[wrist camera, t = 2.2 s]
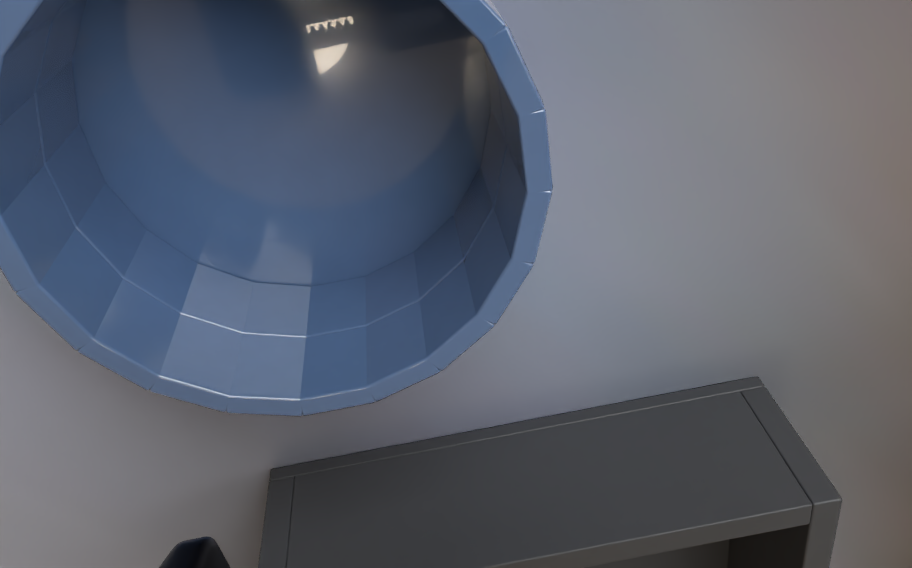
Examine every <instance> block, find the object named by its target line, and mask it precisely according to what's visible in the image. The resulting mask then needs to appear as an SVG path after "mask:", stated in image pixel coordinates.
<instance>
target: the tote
mask: <svg viewBox="0 0 912 568" xmlns="http://www.w3.org/2000/svg"><path fill="white" fill-rule="evenodd" d="M841 503H842V498H841V496H840V495H839V494H838V492H837V491H836V489H835V488H834V486H833V485H832V483H831V482H830V480H829V479H828V478H827V476H826V475H825V473H824V472H823V470H822V469H821V467H820V466H819V465H818V463H817V462H816V460H815V459H814V457H813V456H812V454H811V453H810V451H809V450H808V449H807V447H806V446H805V444H804V443H803V441H802V440H801V438H800V437H799V435H798V434H797V433H796V431H795V430H794V428H793V427H792V425H791V424H790V422H789V421H788V419H787V418H786V417H785V415H784V414H783V412H782V411H781V409H780V408H779V406H778V405H777V404H776V402H775V401H774V399H773V398H772V396H771V395H770V393H769V392H768V390H767V389H766V388H765V387H764V385H763V383H762V382H761V380H760V379H759V377H751V378H746V379H741V380H736V381H730V382H725V383H720V384H715V385H710V386H704V387H699V388H694V389H689V390H684V391H678V392H673V393H668V394H663V395H657V396H652V397H647V398H642V399H637V400H631V401H626V402H621V403H616V404H610V405H605V406H600V407H595V408H590V409H584V410H579V411H574V412H569V413H563V414H558V415H553V416H548V417H543V418H537V419H532V420H527V421H522V422H517V423H511V424H506V425H501V426H496V427H490V428H485V429H480V430H475V431H470V432H464V433H459V434H454V435H449V436H443V437H438V438H433V439H428V440H423V441H417V442H412V443H407V444H402V445H396V446H391V447H386V448H381V449H376V450H370V451H365V452H360V453H355V454H349V455H344V456H339V457H334V458H329V459H323V460H318V461H313V462H308V463H303V464H297V465H292V466H287V467H282V468H276V469H272V470H271V473H270V482H269V488H268V496H267V503H266V511H265V519H264V527H263V534H262V542H261V550H260V557H259V565H258V568H829V565H830V559H831V554H832V549H833V544H834V539H835V534H836V529H837V524H838V519H839V514H840V509H841Z"/></svg>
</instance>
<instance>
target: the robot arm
mask: <svg viewBox="0 0 912 568" xmlns="http://www.w3.org/2000/svg"><path fill="white" fill-rule="evenodd" d="M159 568H230V566H229V565H228V563H227V561H226V559H225V557H224V555H223V553H222V552H221V550H220V548H219V546H218V544H217V543H216V541H215V540H214V539H213V538H211V537H201V538H196V539H191V540H186V541H182V542H180V543H178V544H177V545H176V546H175V547H174V548H173V549H172V550H171V552H170V553H169V555H168V556H167V557H166V559H165V560H164V561H163V563H162V564H161V565H160V567H159Z"/></svg>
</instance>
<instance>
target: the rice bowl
mask: <svg viewBox="0 0 912 568" xmlns="http://www.w3.org/2000/svg"><path fill="white" fill-rule="evenodd" d="M552 188H553V185H552V174H551V163H550V152H549V141H548V130H547V120H546V110H545V109H544V104H543V101H542V99H541V97H540V95H539V93H538V90H537V88H536V86H535V84H534V82H533V80H532V77H531V75H530V73H529V71H528V69H527V66H526V64H525V62H524V60H523V58H522V55H521V53H520V51H519V49H518V47H517V45H516V42H515V40H514V38H513V36H512V34H511V31H510V29H509V27H508V26H507V24H506V23H505V21H504V20H503V18H502V16H501V15H500V13H499V12H498V10H497V9H496V7H495V6H494V4H493V3H492V1H491V0H0V269H1V270H2V272H3V274H4V275H5V277H6V279H7V281H8V282H9V284H10V286H11V287H12V289H13V290H14V291H15V292H16V294H17V296H19V297H20V298H21V299H22V300H23V301H24V302H25V303H26V304H27V305H28V306H29V307H30V308H31V309H32V310H33V311H34V312H35V313H37V314H38V315H39V316H40V317H41V318H42V319H43V320H44V321H45V322H46V323H47V324H48V325H49V326H50V327H51V328H52V329H53V330H54V331H56V332H57V333H58V334H59V335H60V336H61V337H62V338H63V339H64V340H65V341H66V342H67V343H68V344H69V345H70V346H71V347H72V348H73V349H75V350H78V352H79V353H80V354H82V355H84V356H86V357H88V358H89V359H91V360H93V361H95V362H97V363H98V364H100V365H102V366H104V367H106V368H107V369H109V370H111V371H113V372H115V373H116V374H118V375H120V376H122V377H124V378H125V379H127V380H129V381H131V382H133V383H134V384H136V385H138V386H140V387H142V388H143V389H145V390H150V391H151V392H153V393H156V394H160V395H163V396H167V397H171V398H174V399H178V400H181V401H185V402H189V403H192V404H196V405H199V406H203V407H206V408H210V409H214V410H217V411H221V412H225V411H226V412H227V413H236V414H259V415H282V416H302V415H303V416H307V415H312V414H317V413H323V412H328V411H333V410H338V409H344V408H349V407H354V406H359V405H364V404H370V403H374V402H375V401H379V400H381V399H384V398H386V397H388V396H390V395H392V394H394V393H396V392H399V391H401V390H403V389H405V388H407V387H409V386H411V385H414V384H416V383H418V382H420V381H422V380H424V379H426V378H429V377H431V376H433V375H435V374H437V373H439V372H440V370H441V371H442V370H444V369H445V368H446V367H447V366H448V365H449V364H451V363H452V362H453V361H454V360H455V359H456V358H458V357H459V356H460V355H461V354H462V353H463V352H465V351H466V350H467V349H468V348H469V347H470V346H472V345H473V344H474V343H475V342H476V341H477V340H479V339H480V338H481V337H482V336H483V335H485V334H486V333H487V332H488V331H489V330H490V329H492V328H493V326H494V324H496V323H497V322H498V320H499V319H500V317H501V315H502V314H503V312H504V311H505V309H506V308H507V306H508V304H509V303H510V301H511V300H512V298H513V297H514V295H515V293H516V292H517V290H518V289H519V287H520V286H521V284H522V282H523V281H524V279H525V278H526V276H527V275H528V273H529V271H530V270H531V268H532V267H533V263H534V262H535V259H536V255H537V251H538V247H539V243H540V239H541V235H542V231H543V227H544V223H545V219H546V215H547V211H548V207H549V203H550V199H551V195H552Z"/></svg>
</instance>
